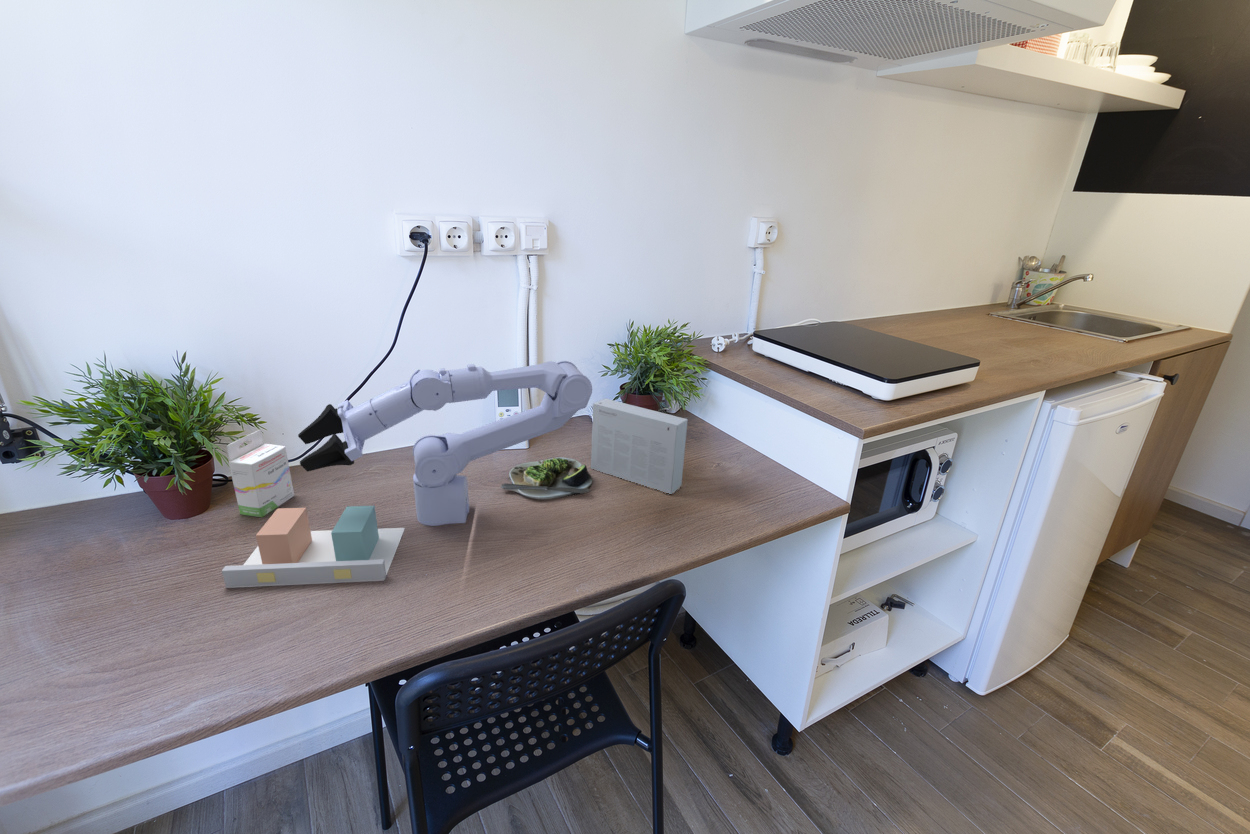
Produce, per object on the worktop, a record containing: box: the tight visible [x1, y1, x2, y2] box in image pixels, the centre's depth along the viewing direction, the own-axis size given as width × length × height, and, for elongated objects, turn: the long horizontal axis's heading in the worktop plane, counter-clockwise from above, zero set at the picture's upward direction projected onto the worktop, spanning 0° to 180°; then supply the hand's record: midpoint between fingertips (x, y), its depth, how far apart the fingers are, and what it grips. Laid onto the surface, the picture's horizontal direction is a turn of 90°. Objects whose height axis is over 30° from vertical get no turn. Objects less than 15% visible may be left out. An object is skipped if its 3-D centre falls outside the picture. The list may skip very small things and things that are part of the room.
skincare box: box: [590, 398, 689, 495], centre depth 126 cm, size 21×5×16 cm, turn 58°
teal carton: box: [331, 505, 379, 561], centre depth 97 cm, size 5×8×6 cm, turn 7°
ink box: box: [226, 429, 295, 518], centre depth 108 cm, size 9×5×15 cm, turn 168°
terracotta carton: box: [255, 507, 312, 564], centre depth 95 cm, size 5×8×6 cm, turn 7°
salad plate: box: [500, 456, 594, 501], centre depth 124 cm, size 19×18×5 cm
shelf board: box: [221, 527, 406, 589], centre depth 96 cm, size 23×15×4 cm, turn 98°
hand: (302, 452), depth 97 cm, fingers open, 7 cm apart
